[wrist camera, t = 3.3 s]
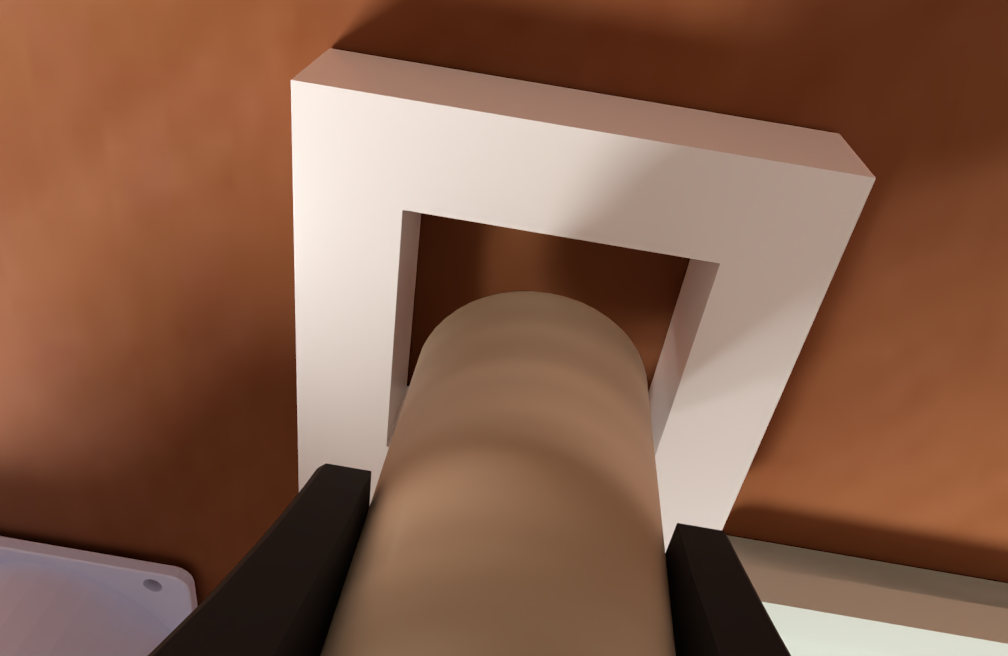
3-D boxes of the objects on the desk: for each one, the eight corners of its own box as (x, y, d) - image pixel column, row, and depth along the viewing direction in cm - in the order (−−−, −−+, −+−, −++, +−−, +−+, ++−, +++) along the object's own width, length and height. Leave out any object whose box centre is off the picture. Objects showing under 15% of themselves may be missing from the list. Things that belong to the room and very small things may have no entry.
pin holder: (326, 432, 18) (298, 494, 16) (329, 48, 13) (290, 79, 11) (696, 495, 18) (707, 564, 16) (839, 133, 13) (876, 177, 11)
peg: (408, 457, 14) (245, 1009, 7) (424, 271, 12) (216, 820, 5) (618, 492, 14) (643, 1078, 7) (674, 314, 12) (782, 918, 5)
